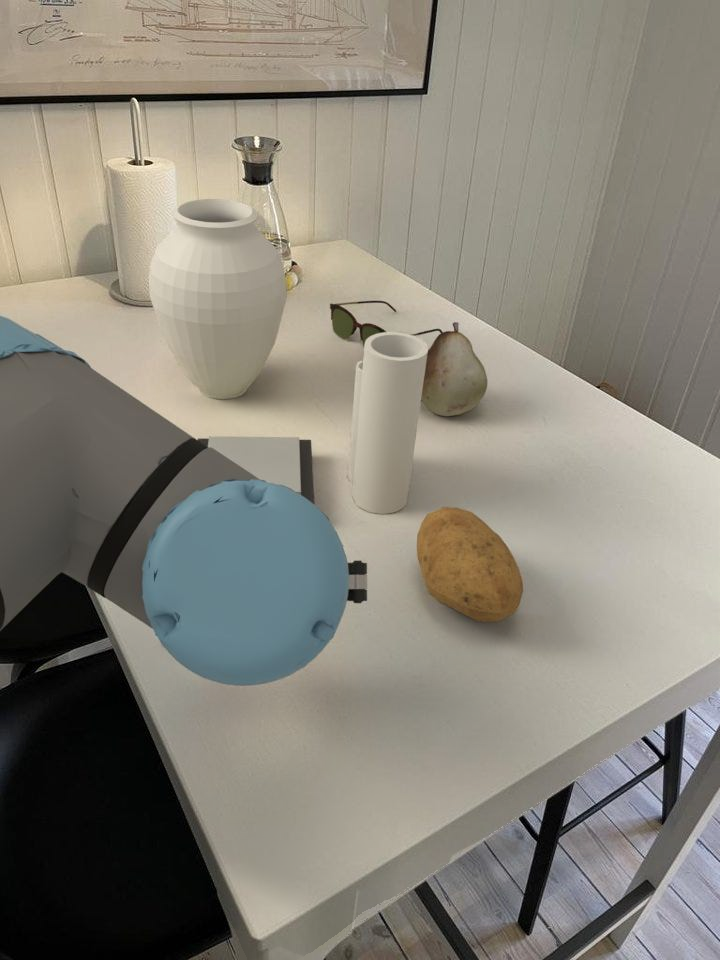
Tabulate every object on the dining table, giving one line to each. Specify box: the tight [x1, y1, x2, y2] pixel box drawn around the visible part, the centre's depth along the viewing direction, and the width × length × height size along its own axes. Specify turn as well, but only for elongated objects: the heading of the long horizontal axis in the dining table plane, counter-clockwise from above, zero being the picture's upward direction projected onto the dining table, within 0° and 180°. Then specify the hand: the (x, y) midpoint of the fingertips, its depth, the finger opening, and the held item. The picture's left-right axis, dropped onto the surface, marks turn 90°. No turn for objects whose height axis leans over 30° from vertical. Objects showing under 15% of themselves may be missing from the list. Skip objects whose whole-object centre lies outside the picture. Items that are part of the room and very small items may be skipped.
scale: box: [197, 435, 315, 505], centre depth 89 cm, size 14×14×3 cm
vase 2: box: [347, 331, 429, 515], centre depth 86 cm, size 11×7×20 cm, turn 2°
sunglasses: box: [329, 300, 444, 348], centre depth 124 cm, size 14×15×5 cm
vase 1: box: [148, 198, 288, 400], centre depth 101 cm, size 18×18×25 cm
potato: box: [416, 506, 524, 623], centre depth 75 cm, size 10×14×8 cm
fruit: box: [421, 321, 488, 417], centre depth 104 cm, size 10×9×12 cm
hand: (264, 582), depth 64 cm, fingers closed on soda can, 7 cm apart
